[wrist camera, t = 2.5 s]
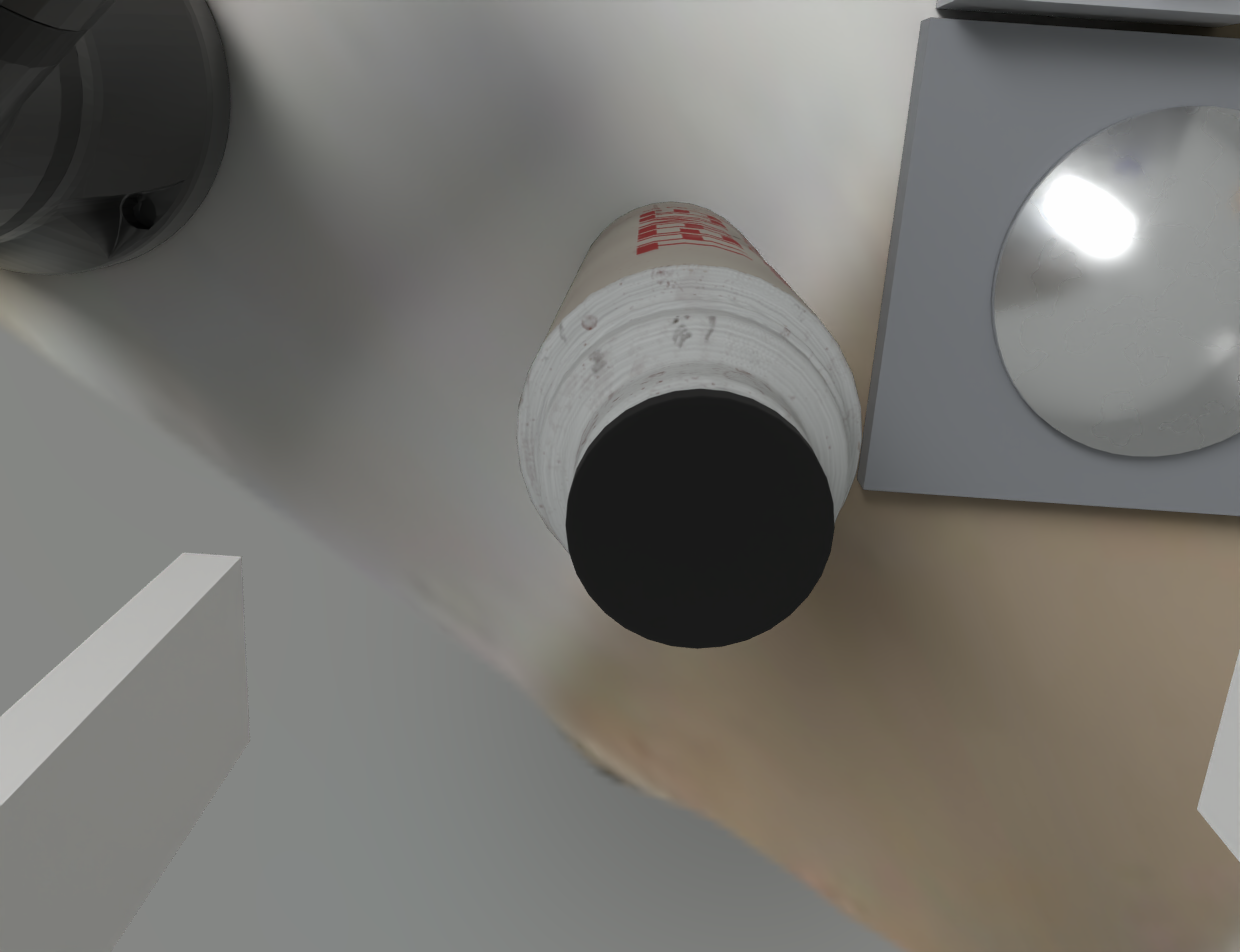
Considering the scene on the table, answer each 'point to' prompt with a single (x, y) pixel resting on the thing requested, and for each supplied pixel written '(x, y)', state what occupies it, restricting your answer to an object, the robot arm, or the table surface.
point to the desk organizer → (1114, 10)
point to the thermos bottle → (689, 431)
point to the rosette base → (1063, 272)
